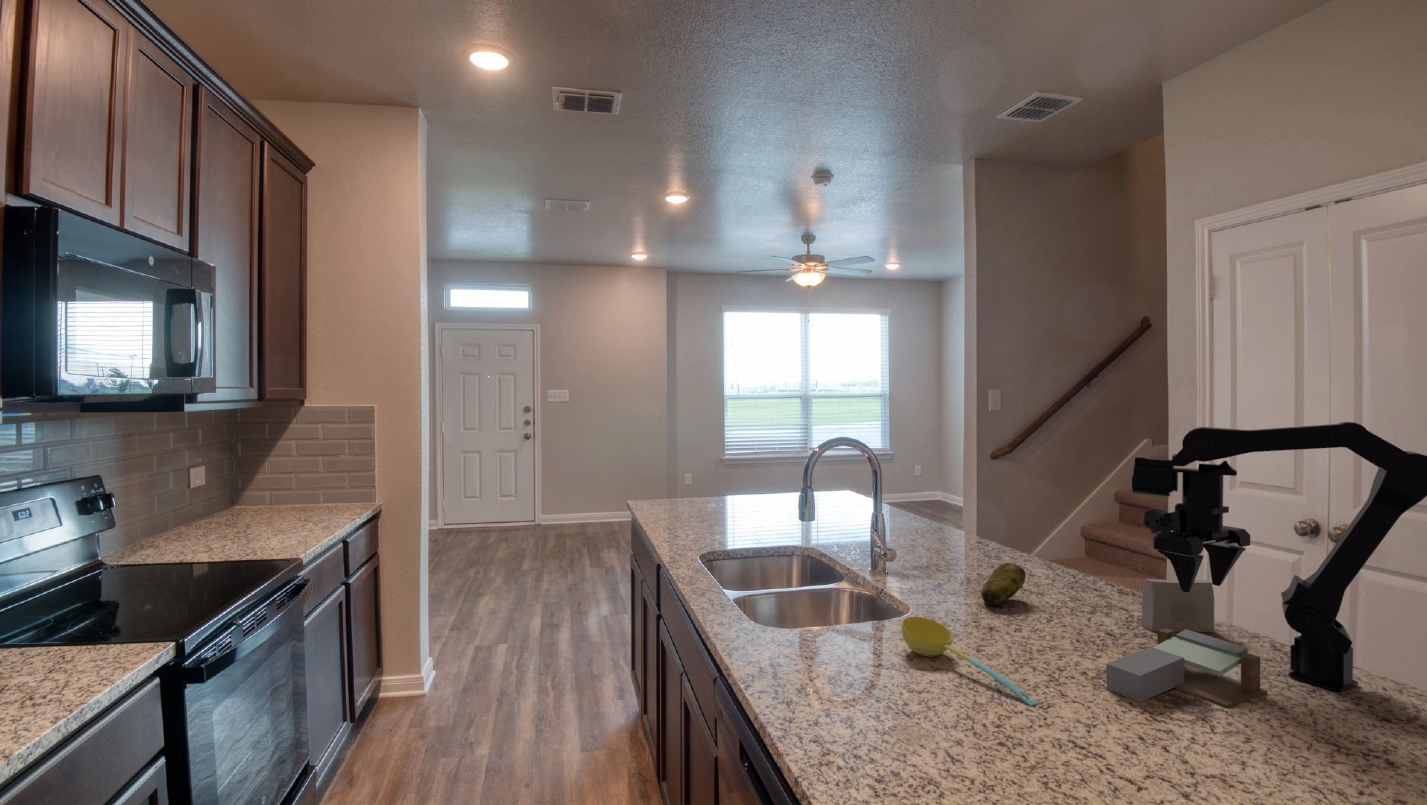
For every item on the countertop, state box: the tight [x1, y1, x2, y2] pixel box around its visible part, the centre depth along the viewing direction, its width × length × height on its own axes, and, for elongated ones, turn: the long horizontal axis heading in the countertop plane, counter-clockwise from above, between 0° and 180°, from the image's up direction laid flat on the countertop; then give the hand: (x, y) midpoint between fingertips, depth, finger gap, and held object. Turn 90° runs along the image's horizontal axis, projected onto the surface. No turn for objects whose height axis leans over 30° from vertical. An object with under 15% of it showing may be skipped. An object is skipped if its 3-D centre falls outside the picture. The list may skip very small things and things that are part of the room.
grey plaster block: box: [1140, 578, 1215, 633], centre depth 128 cm, size 12×4×10 cm, turn 89°
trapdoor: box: [1153, 629, 1249, 676], centre depth 106 cm, size 10×9×2 cm
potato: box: [980, 562, 1026, 606], centre depth 145 cm, size 8×13×8 cm, turn 112°
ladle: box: [901, 616, 1038, 707], centre depth 109 cm, size 9×26×6 cm, turn 26°
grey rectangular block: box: [1105, 646, 1184, 703], centre depth 103 cm, size 4×5×12 cm
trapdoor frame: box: [1156, 628, 1268, 709], centre depth 105 cm, size 15×11×6 cm
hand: (1201, 588), depth 114 cm, fingers open, 9 cm apart
